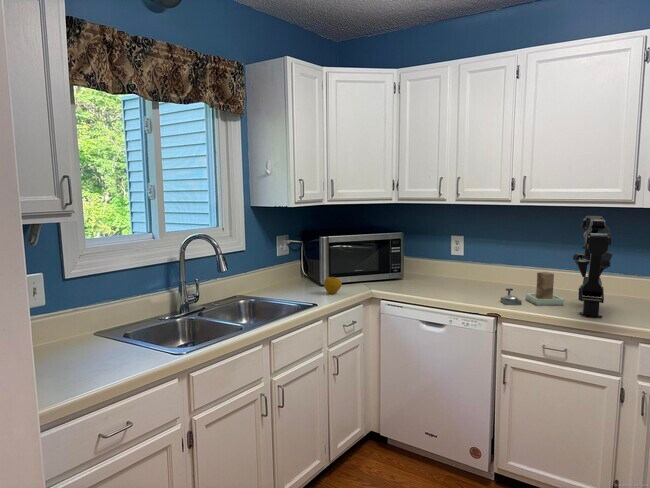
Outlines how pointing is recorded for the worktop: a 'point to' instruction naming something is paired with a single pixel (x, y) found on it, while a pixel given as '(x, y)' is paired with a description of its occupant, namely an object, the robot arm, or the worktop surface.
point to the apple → (332, 285)
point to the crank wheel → (510, 297)
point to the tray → (544, 300)
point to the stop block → (544, 285)
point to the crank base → (511, 301)
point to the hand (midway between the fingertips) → (589, 279)
